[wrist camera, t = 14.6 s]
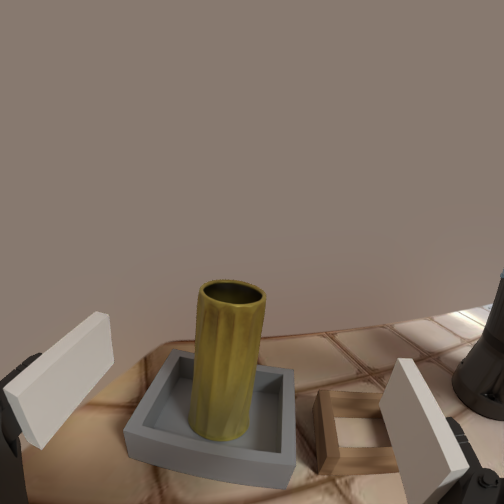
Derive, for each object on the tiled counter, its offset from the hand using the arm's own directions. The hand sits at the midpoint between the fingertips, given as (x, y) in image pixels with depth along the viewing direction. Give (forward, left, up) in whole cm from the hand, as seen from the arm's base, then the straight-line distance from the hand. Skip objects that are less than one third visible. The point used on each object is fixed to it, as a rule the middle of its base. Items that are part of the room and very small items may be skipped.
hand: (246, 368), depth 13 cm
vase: (+2, -11, -15) cm, 19 cm away
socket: (-13, -11, -16) cm, 24 cm away
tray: (+2, -11, -16) cm, 20 cm away
